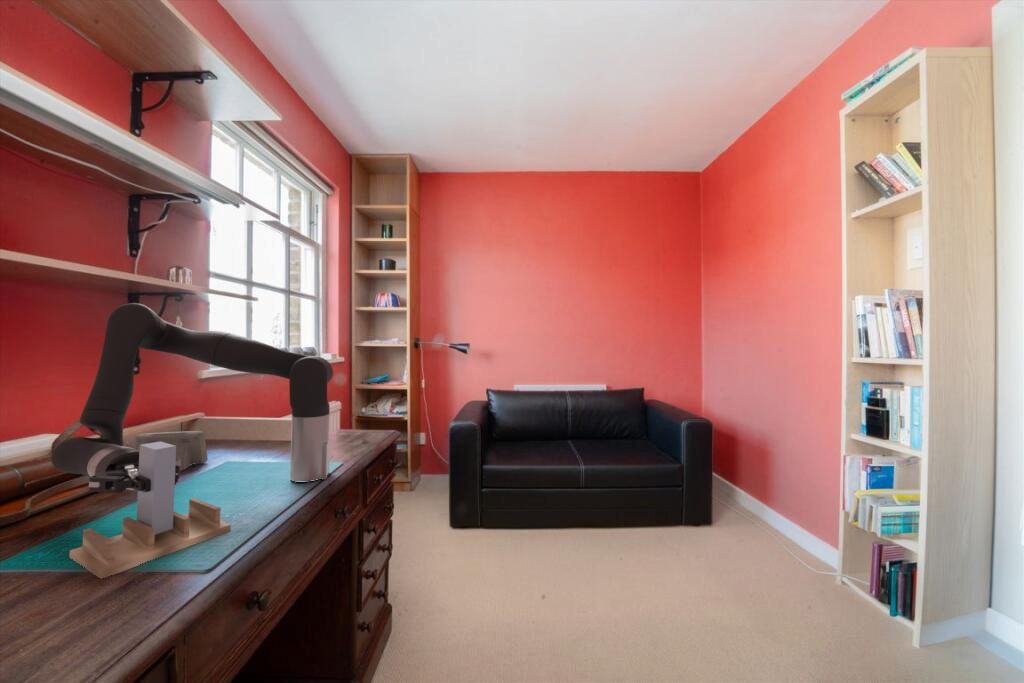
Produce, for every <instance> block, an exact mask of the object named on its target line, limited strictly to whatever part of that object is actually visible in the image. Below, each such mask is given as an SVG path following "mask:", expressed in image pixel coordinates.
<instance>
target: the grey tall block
mask: <svg viewBox="0 0 1024 683" xmlns="http://www.w3.org/2000/svg"><path fill="white" fill-rule="evenodd" d="M175 462H176V446H175V445H171V444H168V443H164V442H161V441H160V442H154V443H148V444H142V445H140V450H139V476H144V477H146V478H149V479H150V480H151V490H150V491H149V492H142V491H137V499H136V500H137V504H136V520H137V521H139V522H141V523H143V524H145V525H147V526H149V527H151V528H153V529H155V534H158V533H161V532H164V531H167V530H170V529H173V512H175V511H174V508H175V505H174V504H175V486H176V485H175Z"/></svg>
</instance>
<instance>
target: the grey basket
mask: <svg viewBox="0 0 1024 683" xmlns="http://www.w3.org/2000/svg"><path fill="white" fill-rule="evenodd" d="M160 441H161V442H164V443H168V444H171V445H175V446H176V459H181V467H180V469H184V468H186V467H187V466H189V465H190V464H193V463H203V464H205V463H207V462H208V451H207V443H206V436H205V432H204V431H201V430H194V431H193V430H190V431H189V430H188V431H187V430H186V431H168V432H149V433H148V432H145V433H138V434H136V436H135V445H136V450H140V445H142V444H148V443H154V442H160ZM204 462H205V463H204Z"/></svg>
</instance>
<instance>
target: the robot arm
mask: <svg viewBox="0 0 1024 683" xmlns="http://www.w3.org/2000/svg"><path fill="white" fill-rule="evenodd" d="M139 349H142V350H148V351H153V352H154V351H155V352H160V353H161V352H162V353H167V354H174V355H178V356H182V357H184V358H185V357H186V358H189V359H191V360H195V361H197V362H201V363H204V364H209V365H211V366H216V367H218V368H222V369H226V370H231V371H235V372H241V373H246V374H247V373H250V374H259V375H269V376H276V377H280V378H283V379H287V380H289V381H288V382H289V386H288V387H289V389H288V390H289V406H290V408H291V429H290V430H291V431H290V432H291V433H290V440H291V441H290V468H289V479H290V478H291V479H292V480H294V481H311V480H316V479H322V478H323V479H322V480H327V479H328V476H329V474H330V460H331V459H330V458H331V456H330V455H331V454H330V451H331V439H330V408H331V407H330V403H329V401H328V384H329V383H330V382H331V380H332V379H333V377H334V369H333V367H332V364H331V363H330V361H328V360H326V358H324V357H321V356H317V355H309V354H302V353H297V352H292V351H287V350H285V349H281V348H278V347H275V346H272V345H269V344H267V343H265V342H261V341H257V340H256V339H252V338H248V337H245V336H241V335H238V334H234V333H232V332H231V333H230V332H226V331H221V330H193V329H189V328H186V327H182V326H179V325H176V324H173V323H171V322H168V321H166V320H164V319H163V318H161V317H160V316H159V315H158V314H157V313H156V312H155V311H154V310H153V309H151V308H150V307H148V306H146V305H145V304H142V303H135V302H134V303H133V302H131V303H126V304H125V303H124V304H122V305H120V306H118V307H117V308H114V309H113V311H111V313H110V315H109V316H108V319H107V324H106V329H105V335H104V341H103V346H102V350H101V356H100V360H99V364H98V368H97V372H96V375H95V378H94V382H93V385H92V388H91V391H90V393H89V396H88V398H87V400H86V402H85V405H84V407H83V410H82V412H81V415H80V417H79V422H80V424H81V425H83V426H84V427H87V428H90V429H93V430H96V431H98V432H99V433H100V436H101V438H95V437H87V436H85V437H83V436H73V437H70V438H66V439H64V440H62V441H61V442H59V443H58V444H57V445H56V446H55V447H54V449H53V451H52V452H51V455H50V462H51V465H52V467H54V468H55V469H56V470H57V471H59V472H63V473H69V474H75V475H76V474H77V475H83V476H87V477H88V492H93V493H94V492H95V493H111V494H112V493H114V494H119V493H120V494H121V493H123V492H124V491H137V492H138V491H142V492H149V491H150V490H151V480H150V479H149V478H146V477H144V476H139V450H137V448H132V447H130V446H125V445H124V434H123V433H124V424H125V418H126V415H127V412H128V410H129V407H130V404H131V402H132V398H133V394H134V388H135V365H136V364H135V362H136V357H137V352H138V350H139ZM180 467H181V459H176V462H175V486H176V484H177V483H178V482H179V479H180V477H181V470H180ZM328 473H329V474H328ZM327 475H328V476H327Z"/></svg>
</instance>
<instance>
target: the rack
mask: <svg viewBox="0 0 1024 683" xmlns="http://www.w3.org/2000/svg"><path fill="white" fill-rule="evenodd" d="M221 510H222V509H221V507H219V506H216V505H213V504H211V503H208V502H206V501H204V500H203V501H202V500H200V499H198V498H194V497H193V498H189V501H188V513H185V514H182V513H179V512H176V511H174V512H173V529H170V530H167V531H164V532H161V533H158V534H155V529H153V528H151V527H149V526H147V525H145V524H143V523H141V522H139V521H137V519H134V518H132V517H131V516H128V517H127V516H126V517H123V518H122V533H121V534H117V535H114V536H110V537H106V536H105V535H103V534H102V533H99V532H98V531H96V530H95V529H93V528H91V527H90V528H86V529H83V530H82V545H81V546H79V547H77V548H72V549H70V550H69V557H70V558H69V559H71V560H72V559H73V560H72V561H74V562H75V561H76V562H75V563H77V562H78V563H79V564H80V565H79V564H78V563H77V564H78V565H79V566H81V565H82V566H83V567H82V566H81V567H82V568H84V567H85V568H86V569H85V568H84V569H85V570H87V569H88V570H89V571H90V573H91V572H92V573H93V574H92V573H91V574H92V575H93V576H95V575H96V576H97V578H98V577H99V578H104V579H106V578H108V576H109V577H111V575H112V576H114V575H117V574H120V573H122V572H125V571H128V570H129V569H133V568H135V567H137V566H140V564H141V565H143V564H146V563H148V562H147V561H149V562H151V561H154V560H156V559H155V558H157V559H159V558H162V557H164V556H163V555H165V556H167V555H170V554H172V553H175V552H177V551H181V550H183V549H186V548H188V547H189V548H190V546H194V545H196V544H199V543H202V542H204V541H207V540H210V539H212V538H216V537H217V536H220V535H223V534H225V533H228V532H230V531H231V523H227V521H226V522H225V521H223V520H221ZM161 556H162V557H161ZM158 557H159V558H158ZM153 559H154V560H153ZM150 560H151V561H150ZM145 562H146V563H145ZM142 563H143V564H142ZM88 570H87V571H88ZM89 571H88V572H89ZM96 576H95V577H96ZM105 577H106V578H105ZM99 578H98V579H99Z"/></svg>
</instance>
